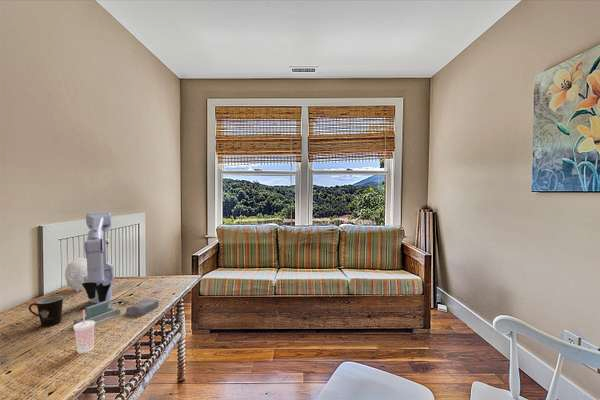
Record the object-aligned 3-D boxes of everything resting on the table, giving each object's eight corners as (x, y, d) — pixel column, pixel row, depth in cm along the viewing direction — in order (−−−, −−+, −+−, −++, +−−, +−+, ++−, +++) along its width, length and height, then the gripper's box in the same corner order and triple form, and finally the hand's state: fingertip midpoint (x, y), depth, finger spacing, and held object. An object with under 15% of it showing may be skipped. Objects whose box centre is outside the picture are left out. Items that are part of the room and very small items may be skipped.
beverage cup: (91, 353, 105) (89, 312, 104) (71, 355, 104) (68, 314, 103) (99, 344, 111) (97, 305, 110) (80, 346, 110) (77, 307, 109)
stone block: (124, 319, 136) (143, 316, 134) (122, 308, 136) (141, 305, 134) (142, 309, 148) (161, 306, 146) (140, 299, 148) (159, 296, 146)
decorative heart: (71, 287, 175) (69, 257, 174) (93, 284, 180) (92, 255, 179) (62, 297, 159) (60, 264, 158) (87, 294, 163) (85, 261, 162)
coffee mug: (69, 320, 131) (68, 297, 131) (46, 329, 123) (45, 304, 123) (50, 316, 135) (49, 294, 134) (27, 325, 127) (26, 301, 126)
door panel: (86, 322, 127) (85, 307, 127) (106, 314, 135) (105, 301, 134) (89, 323, 126) (88, 308, 126) (109, 315, 134) (108, 301, 133)
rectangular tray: (73, 326, 126) (73, 319, 125) (111, 312, 139) (110, 306, 139) (83, 329, 122) (83, 322, 122) (120, 315, 136) (120, 309, 135)
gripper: (75, 268, 129) (77, 300, 130) (95, 272, 123) (97, 306, 123) (93, 264, 136) (94, 294, 136) (113, 268, 129) (114, 300, 129)
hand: (97, 299), depth 130 cm, fingers open, 7 cm apart
